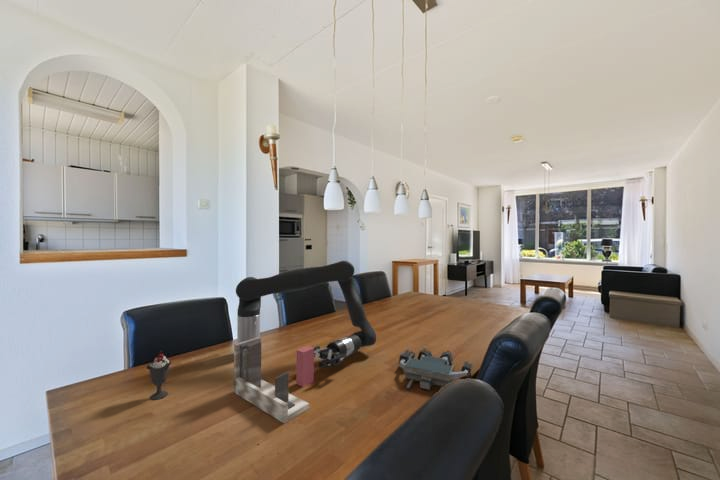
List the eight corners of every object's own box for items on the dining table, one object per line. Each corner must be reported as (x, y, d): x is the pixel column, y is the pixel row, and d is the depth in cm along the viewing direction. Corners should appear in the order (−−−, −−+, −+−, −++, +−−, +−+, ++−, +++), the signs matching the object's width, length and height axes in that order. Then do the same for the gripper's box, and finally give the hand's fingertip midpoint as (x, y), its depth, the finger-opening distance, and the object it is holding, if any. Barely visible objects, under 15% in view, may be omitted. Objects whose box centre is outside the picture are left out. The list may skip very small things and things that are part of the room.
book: (296, 383, 104) (296, 349, 104) (307, 378, 108) (307, 345, 108) (303, 387, 102) (303, 352, 102) (314, 381, 106) (314, 348, 106)
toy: (473, 354, 122) (472, 376, 94) (472, 376, 121) (470, 404, 93) (407, 342, 132) (389, 358, 104) (406, 362, 131) (386, 383, 103)
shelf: (233, 392, 98) (234, 342, 98) (258, 381, 105) (258, 335, 105) (284, 423, 82) (284, 364, 82) (308, 408, 90) (309, 354, 89)
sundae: (159, 402, 92) (159, 354, 91) (141, 399, 93) (141, 352, 93) (176, 391, 98) (176, 346, 98) (159, 389, 99) (159, 344, 99)
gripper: (327, 335, 125) (298, 346, 112) (354, 343, 116) (325, 356, 103) (327, 353, 125) (297, 366, 112) (354, 362, 116) (325, 378, 103)
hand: (311, 361), depth 107 cm, fingers open, 8 cm apart
